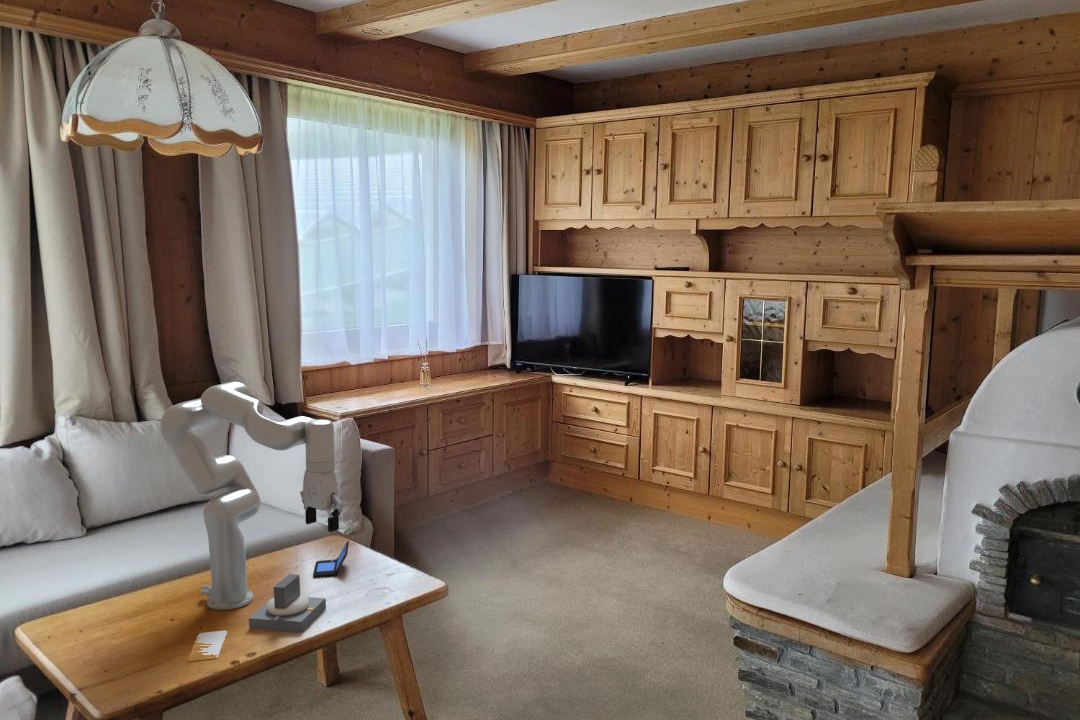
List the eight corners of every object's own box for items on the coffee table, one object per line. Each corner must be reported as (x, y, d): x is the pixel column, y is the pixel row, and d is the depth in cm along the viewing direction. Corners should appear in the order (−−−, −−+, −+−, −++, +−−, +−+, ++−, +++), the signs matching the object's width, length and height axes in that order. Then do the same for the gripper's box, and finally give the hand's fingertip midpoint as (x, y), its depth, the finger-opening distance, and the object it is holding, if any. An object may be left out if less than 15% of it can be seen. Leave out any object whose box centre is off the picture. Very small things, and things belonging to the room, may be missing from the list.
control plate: (249, 628, 215) (248, 617, 215) (276, 605, 230) (275, 594, 230) (301, 632, 213) (301, 621, 212) (326, 608, 227) (325, 597, 227)
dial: (279, 597, 227) (277, 571, 226) (315, 599, 225) (314, 574, 224) (259, 614, 216) (257, 587, 215) (297, 616, 215) (296, 590, 214)
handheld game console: (316, 564, 261) (315, 542, 260) (350, 561, 263) (349, 539, 262) (312, 579, 249) (311, 556, 248) (348, 576, 251) (347, 553, 250)
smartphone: (186, 661, 198) (198, 633, 212) (186, 664, 198) (199, 635, 212) (217, 657, 199) (228, 630, 214) (217, 660, 199) (228, 632, 214)
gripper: (289, 463, 220) (291, 523, 222) (329, 474, 209) (331, 537, 212) (312, 457, 226) (314, 516, 228) (352, 468, 215) (353, 530, 218)
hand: (322, 526), depth 220 cm, fingers open, 9 cm apart
